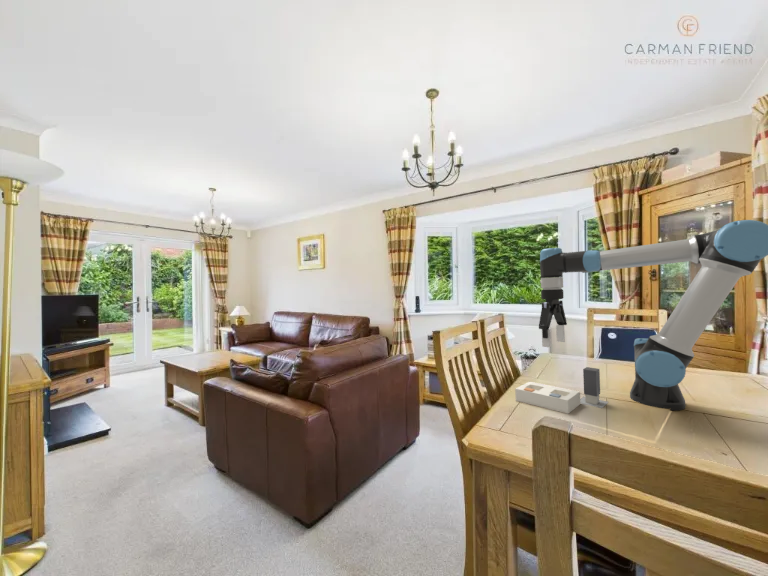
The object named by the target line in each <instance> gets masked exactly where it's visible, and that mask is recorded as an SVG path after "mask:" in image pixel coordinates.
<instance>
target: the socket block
mask: <svg viewBox="0 0 768 576" xmlns="http://www.w3.org/2000/svg"><path fill="white" fill-rule="evenodd" d="M514 392H515V402H520V403H523V404H529V405H532V406H537V407H540V408H544V409H548V410H552V411H557V412H560V413H563V414H567V415H568V414H570V413H571V412H572V411H573V410H575V409H576V408H578V407H579V406H580V405H581V403H580V399H581V391H579V390H574V389H569V388H564V387H559V386H554V385H551V384H550V385H549V384H544V383H540V382H534V381H527V382H525V383H524V384H522V385H520V386H517V387H516V388H515V389H514Z"/></svg>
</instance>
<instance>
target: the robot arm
mask: <svg viewBox="0 0 768 576" xmlns="http://www.w3.org/2000/svg"><path fill="white" fill-rule="evenodd" d="M539 253H540V254H539V267H540V268H539V270H540V281H539V284H540V287H541V290H540V294H541V296H540V298H541V300H545V302H543V301H542V303H541V309H540V310H541V311H540V317H539V322H538V330H541V340H542V341H541V342H542V344H541V345H542V347H543V348H551V347H552V341H551V338H552V337H551V329H550V326H551V322H552V319H553V318H554V319H555V322H556V326H555V330H556V335H555V336H556V342H557V343H559V342H560V343H565V342H566V340H565V339H566V335H565V326H567V325H568V322H567V318H566V314H565V309H564V302H563V299H564V297H565V296H564V290H563V288H564V277H563V276H564V275H563V274H564V273H567V274H568V273H583V274H584V273H585V274H586V273H587V274H588V273H593V272H600V271H601V272H602V271H610V270H611V271H612V270H621V269H629V268H630V269H631V268H639V267H647V266H658V265H667V264H677V263H687V262H692V263H694V264H700V265H701V267H700V269H699V270H698V271H697V273H696V275H695V276H694V278H693V279H692V281H691V282H690V284H689V286H688V287H687V289H686V291H684V294H683V295H682V296H681V299H680V300H678V301H679V302H678V303H677V304H676V306H675V307H674V308H673V311H672V312H671V314H670V316H669V317H668V318H667V320H666V321H665V323H664V325H663V326H662V328H661V329H660V331H659V333H657V334H654V335H650V336H649V337H648V338H645V337H644V338H642V337H641V338H638V337H637V338H635V339H634V342H633V348H634V375H635V376H634V378H635V379H634V381H633V384H632V386H631V389H630V391H629V398H630V399H631V400H632V401H634V402H636V403H639V404H641V405H644V406H648V407H652V408H659V409H666V410H667V409H669V411H682V410H685V409H686V408H685V407H686V400H685V397H684V395H683V393H682V391H681V388H680V386H679V384H680V383H682V381H683V380H684V379H685V377H686V374H687V373H686V371H687V367H688V366H689V365H690V364H691V362H692V360H693V359H694V358H695V353H694V352H693V347H694V346H695V344H696V342H697V341H698V340H699V338H700V337H701V335H702V334H703V332H704V331H705V329H706V328H707V327H708V326H709V323H710V322H711V321H712V320H713V318H714V317H715V315H716V313H717V312H718V311H719V309H720V308H721V306H722V305H723V303H724V302H725V300H726V299H727V297H728V296H729V294H730V293H731V291H732V290H733V289H734V287H735V285H736V284H737V283H738V282H739V280H740V279H741V278H742V277H746V276H749V275H751V274H753V272H754V271H755V269H756V268H757V266H758V265H759V263H760V262H761V260H762V259H764V258H766V257H767V256H768V224H767V223H765V222H763V221H760V220H756V219H742V220H735V221H730V222H729V223H726V224H725V225H723V226H721V227H720V228H718V229H716V230H713V231H709V232H705V233H699V234H694V235H691V236H690V237H689V238H687V239H686V238H685V239H679V240H678V239H677V240H673V241H664V242H659V243H649V244H644V245H643V244H642V245H637V246H629V247H622V248H614V249H609V250H594V249H593V250H589V249H588V250H582V251H571V252H570V251H569V252H563V250H562V248H561V247H549V248H548V247H547V248H543V249H541V251H540V252H539Z"/></svg>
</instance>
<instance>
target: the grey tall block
mask: <svg viewBox="0 0 768 576" xmlns="http://www.w3.org/2000/svg"><path fill="white" fill-rule="evenodd" d="M582 371H583V375H582V376H583V377H582V378H583V394H584V397H585V401H586V402H587V403H591V404H596V405H597V404H598V403H599V400H600V395H601V379H600V377H601V372H600V368H595V367H589V366H588V367H587V366H586V367H584V368H583V370H582Z"/></svg>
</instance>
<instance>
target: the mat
mask: <svg viewBox="0 0 768 576" xmlns="http://www.w3.org/2000/svg"><path fill="white" fill-rule="evenodd" d="M607 404H609V401H607V400H601V399H599V403H598V404H597V405H596V404H591V403H587V402H586V401H585V396H583V397H580V405H586V406H591V407H595V408H600V409H603V408H604V407H605V406H606V405H607Z"/></svg>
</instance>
